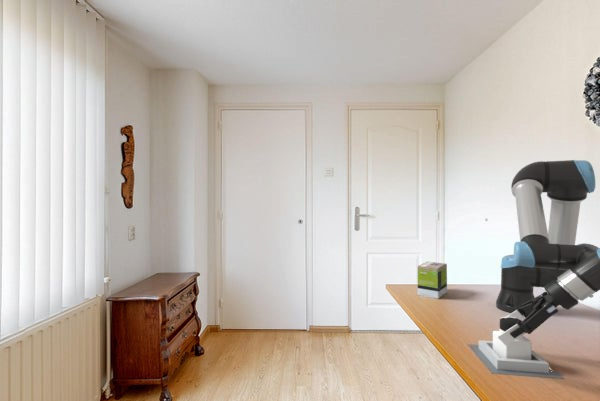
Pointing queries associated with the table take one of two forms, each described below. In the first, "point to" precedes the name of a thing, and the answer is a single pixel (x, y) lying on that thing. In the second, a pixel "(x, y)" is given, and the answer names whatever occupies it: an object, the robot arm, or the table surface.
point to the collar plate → (512, 363)
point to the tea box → (432, 279)
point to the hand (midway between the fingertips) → (502, 332)
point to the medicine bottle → (514, 349)
